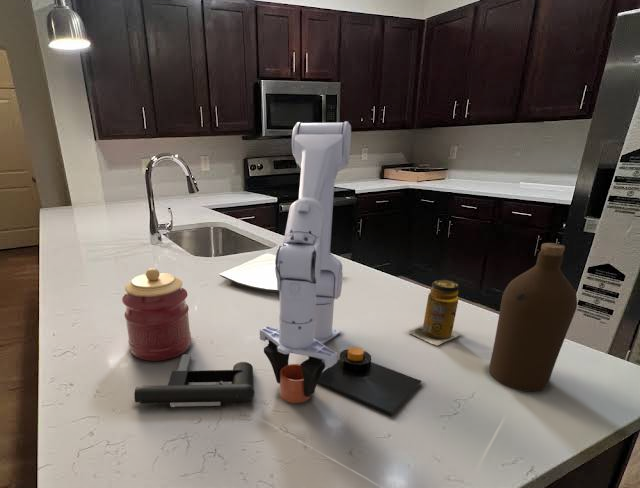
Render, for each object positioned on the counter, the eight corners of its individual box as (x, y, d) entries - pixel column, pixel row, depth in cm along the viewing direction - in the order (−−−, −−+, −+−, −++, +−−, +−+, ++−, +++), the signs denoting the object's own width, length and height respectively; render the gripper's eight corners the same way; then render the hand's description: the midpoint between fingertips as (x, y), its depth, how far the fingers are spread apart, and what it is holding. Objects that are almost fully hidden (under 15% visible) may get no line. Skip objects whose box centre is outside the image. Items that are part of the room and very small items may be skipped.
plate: (213, 283, 125) (212, 274, 124) (265, 259, 147) (265, 251, 146) (295, 303, 110) (296, 293, 109) (341, 273, 132) (341, 265, 131)
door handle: (152, 351, 83) (131, 395, 68) (253, 349, 83) (254, 393, 68) (154, 366, 84) (133, 413, 69) (253, 364, 84) (254, 410, 69)
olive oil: (550, 401, 70) (595, 258, 60) (480, 381, 76) (512, 247, 66) (552, 372, 78) (593, 242, 68) (489, 356, 84) (519, 234, 74)
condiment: (459, 335, 92) (470, 284, 88) (436, 346, 88) (446, 293, 83) (430, 323, 98) (439, 275, 93) (407, 333, 94) (415, 283, 89)
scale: (313, 382, 76) (314, 370, 75) (348, 356, 85) (349, 345, 84) (391, 417, 67) (392, 404, 66) (421, 383, 76) (423, 371, 75)
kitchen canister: (156, 328, 98) (147, 255, 91) (203, 339, 92) (197, 263, 85) (116, 354, 87) (103, 273, 80) (167, 368, 82) (157, 283, 75)
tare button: (344, 358, 80) (344, 351, 79) (352, 352, 82) (352, 345, 81) (358, 363, 78) (359, 356, 78) (366, 357, 80) (366, 350, 80)
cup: (273, 394, 73) (273, 373, 71) (292, 381, 77) (292, 360, 75) (298, 407, 70) (299, 384, 68) (316, 393, 73) (317, 371, 72)
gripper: (247, 312, 69) (248, 381, 74) (321, 338, 60) (316, 415, 65) (274, 299, 74) (274, 365, 79) (346, 322, 65) (340, 395, 70)
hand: (295, 387), depth 73 cm, fingers closed on cup, 5 cm apart
